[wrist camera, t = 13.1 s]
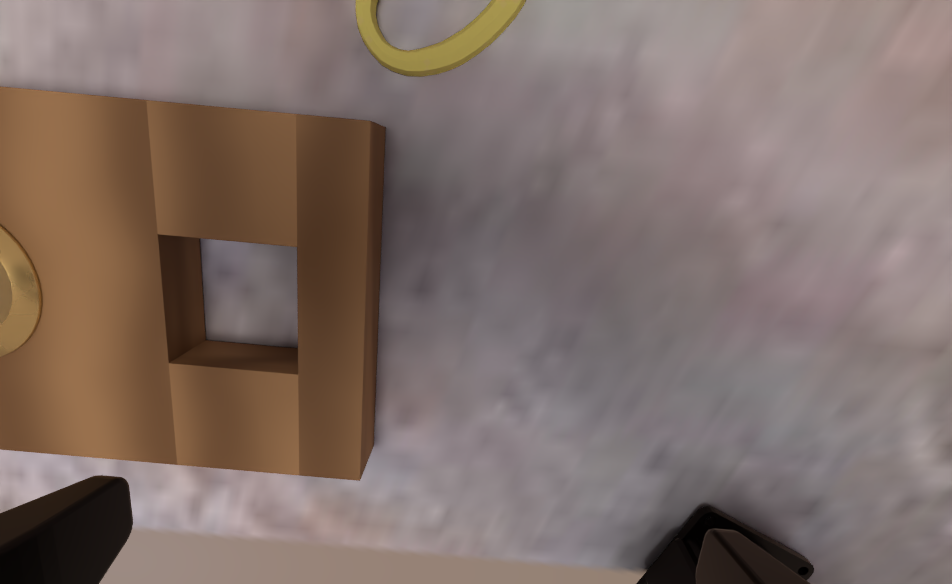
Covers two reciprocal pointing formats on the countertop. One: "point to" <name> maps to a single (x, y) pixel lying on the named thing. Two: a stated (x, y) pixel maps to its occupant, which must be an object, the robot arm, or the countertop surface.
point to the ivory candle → (4, 294)
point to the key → (441, 54)
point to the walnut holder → (189, 282)
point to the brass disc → (19, 294)
